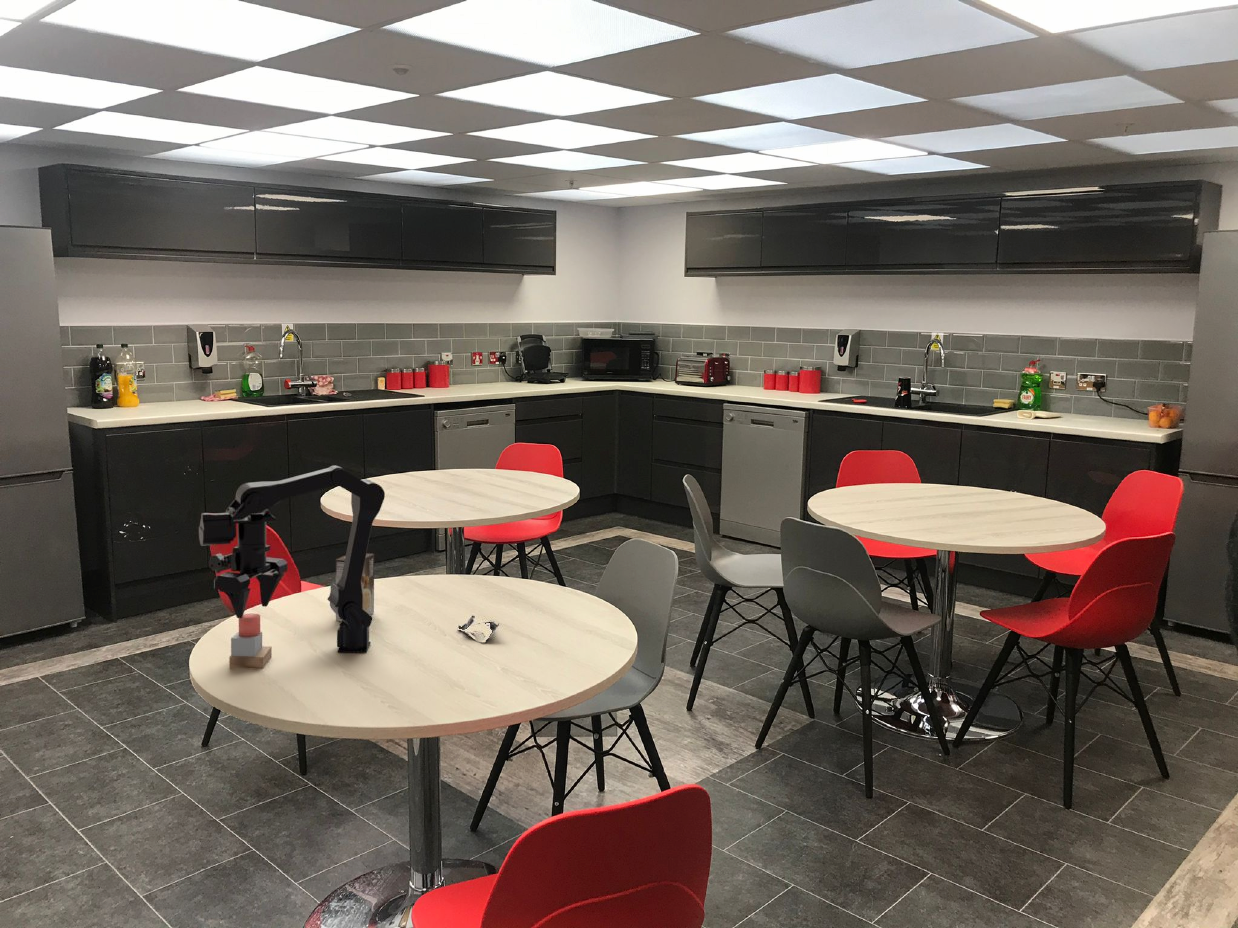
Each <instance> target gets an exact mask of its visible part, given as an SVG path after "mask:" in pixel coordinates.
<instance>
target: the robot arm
mask: <svg viewBox="0 0 1238 928" xmlns="http://www.w3.org/2000/svg"><path fill="white" fill-rule="evenodd" d="M334 486H339V488H342V489H344V490H346V491H347V492H349V493H351V498H350V499H351V500H350V504H351V510H352V523H351V527H350V532H349V536H348V537H349V538H348V543H347V548H346V552H345V555H346V557H345V562H344V567H343V572H342V577H341V579H340V580H339V582H338V583H337V584H336V583H334V582H332V583H330V592H329V596H328V597H327V601H328V602H329V607H330V609H331V610H332V612H333V613H334V614H335V615H336V614H337V615H338V616H339V618H340V619H341V620H342V621H340V623H339V627H338V628H337V630H336V636H337V637H336V647H337V648H338V649H337V652H338V653H367V652H368V651H369V648H370V646H371V643H372V642H371V641H370V627H371V625H372V621H373V620H374V619H373V618H374V617H372V615H369V614H368V613H367V612H366V611H364V610H363V592H362V585H361V579H362V574H363V569H364V564H365V559H366V554H367V553H368V548H369V543H370V538H371V532H372V527H373V523H374V520H375V519H376V518H377V516H378V514H380V512H381V508H382V506H383V503H384V501H385V497H386V496H385V494H386V493H385V490H384V488H383V487H382V486H381V485H380V484H378V483H376V482H375V481H372V480H370V479H367V478H366V479H364V478H363V479H360V478H359V477H356V476H355V475H353V474H352V473H350V472H348V471H347V470H346V469H344V468H343V467H341V466H338V465H330V466H329V467H327V468H323V469H319V470H315V471H312V472H308V473H304V474H300V475H296V476H293V477H292V476H291V477H289V478H285V479H281V480H274V481H255V482H254V481H253V482H245V483H243V484H241V485H240V486H239V487H238V488H237V490H236V493H235V498H234V500H233V501H232V502H231V504H230V505H228V507H227V508H226V510H225V512H219V513H218V512H215V513H211V512H201V514H200V516H201V517H200V520H199V521H200V522H199V526H198V537H199V538H198V539H199V544H200V546H201V547H203V546H215V545H218V546H219V545H229V544H231V543H232V542H234V540H236V538H237V546H235V547H233V548H232V550H231V551H232V552H231V553H229V554H225V555H223V554H222V553H217V554H213V555H211V556H210V557H209V568H210V569H211V570H212V571H215V573H216V574H217V576H215V578H214V579H213V589H214V590H218V591H219V592H221V593H224V594H225V595H226V596H227V597H228V599H229V602H230V604H231V606H232V609H233V611H234V614H235V616H236V618H237V619H239V618H242V617H243V614H245V611H246V607H247V604H248V600H249V596H250V592H251V588H250V587H249V586H250V585H251V580H252V579H254V578H256V580H257V581H258V582H259V593H260V601H261V602H260V603H261V606H262V607H264V608H265V607H268V605H269V603H270V600H271V599H272V597H273V595H274V593H275V591H276V589H277V588H278V585H279V584H280V582H281V580H282V579H283V577H284V576H285V573H287V572H288V562H287V561H286V560H285V559H284V558H276V557H268V556H267V552H269V551H271V545H268V544H267V522H268V523H269V522H270V523H271V522H276V521H277V518H276V517H275V516H274V515H272V514H271V512H270V511H269V509H270V508H272V507H274V506H275V505H278V504H279V503H281V502H282V501H285V500H287V499H290V498H294V497H298V496H301V495H306V494H308V493H309V494H310V493H312V492H316V491H319V490H323V489H327V488H330V487H331V488H332V487H334ZM227 570H230V571H227ZM224 571H227V572H224ZM222 572H223V573H222ZM220 573H221V574H220ZM218 574H219V575H218Z"/></svg>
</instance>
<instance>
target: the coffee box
mask: <svg viewBox="0 0 1238 928" xmlns="http://www.w3.org/2000/svg"><path fill="white" fill-rule="evenodd" d="M345 557H346V554H345V555H343V556H340V557H338V558H336V559H335V584H337V583H338V582H339V580H340V579H341V577H342V572H343V567H344V562H345ZM361 585H362V592H363V610H364V611H366V612H367V613H368V614H369V615H370V616H372V615H373V614H374V613H375V553H368V552H367V554H366V559H365V564H364V569H363V574H362V579H361ZM335 621H337V622H341V621H342V620H341V619H340V618H339V616H338V615H337V614H336V613H335Z"/></svg>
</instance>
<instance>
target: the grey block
mask: <svg viewBox="0 0 1238 928" xmlns="http://www.w3.org/2000/svg"><path fill="white" fill-rule="evenodd" d="M262 646H263V631H260V635H258V636H255V637H241V636H239V631H237V632H236V633H235V634H234V635H232V637H231V638H230V656H246V657H255V656H256V655H257V654H258V653H259V652H260V651H261V650H262Z"/></svg>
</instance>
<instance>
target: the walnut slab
mask: <svg viewBox="0 0 1238 928" xmlns="http://www.w3.org/2000/svg"><path fill="white" fill-rule="evenodd" d="M272 651H273V650H272V646H268V645H267V646H263V645H262V650H261V651H260V652H259V653H258V654H257V655H256V656H255V657H246V656H231V655H230V656H229V662H228V663H229V669H250V668H251V669H252V668H253V669H254V670H255V669H256V670H257V669H259V670H260V669H261V670H263V669H264V668H265V667H266V665H267V664H268V663H269V661H270V660H271V659H272V657H273V654H272V653H273V652H272Z"/></svg>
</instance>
